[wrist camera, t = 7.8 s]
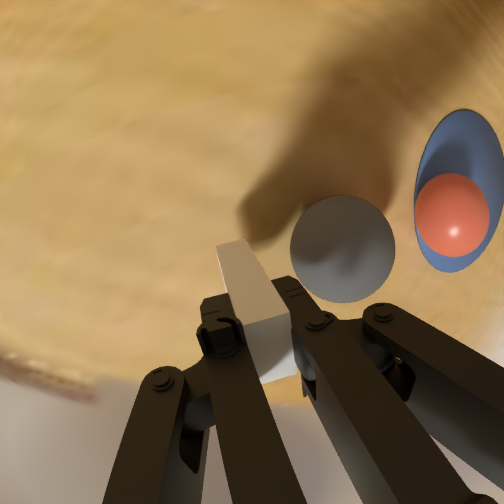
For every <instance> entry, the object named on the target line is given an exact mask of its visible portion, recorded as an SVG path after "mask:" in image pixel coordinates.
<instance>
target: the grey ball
mask: <svg viewBox="0 0 504 504" xmlns="http://www.w3.org/2000/svg"><path fill="white" fill-rule="evenodd" d="M290 255H291V261H292V265H293V268H294V270H295V273H296V275H297V277H298V278H299V280H300V281H301V283H302V284H303V285H304V286H305V287H306V288H307V289H308V290H309V291H310V292H312V293H313V294H314V295H316V296H317V297H319V298H321V299H324V300H327V301H330V302H335V303H350V302H355V301H359V300H362V299H364V298H366V297H368V296H370V295H371V294H373V293H374V292H375V291H377V290H378V289H379V288H380V287H381V286H382V285H383V283H384V282H385V281H386V279H387V277H388V276H389V274H390V272H391V269H392V266H393V263H394V259H395V240H394V236H393V232H392V229H391V227H390V225H389V223H388V221H387V220H386V218H385V217H384V215H383V214H382V213H381V212H380V211H379V210H378V209H377V208H376V207H375V206H373V205H372V204H370V203H369V202H367V201H365V200H363V199H360V198H357V197H353V196H345V195H340V196H332V197H328V198H325V199H323V200H320V201H319V202H317V203H315V204H313V205H312V206H311V207H309V208H308V209H307V210H306V211H305V212H304V213H303V215H302V216H301V217H300V218H299V220H298V222H297V223H296V226H295V228H294V230H293V233H292V237H291V244H290Z"/></svg>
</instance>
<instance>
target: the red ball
mask: <svg viewBox="0 0 504 504" xmlns="http://www.w3.org/2000/svg"><path fill="white" fill-rule="evenodd" d="M489 220H490V214H489V207H488V203H487V200H486V198H485V196H484V194H483V192H482V190H481V189H480V188H479V187H478V185H477V184H476V183H474V182H473V181H472V180H471V179H469V178H467V177H466V176H463V175H460V174H456V173H444V174H441V175H438V176H436V177H434V178H432V179H431V180H429V181H428V182H427V183H426V184H425V185H424V187H423V188H422V189H421V191H420V193H419V195H418V198H417V200H416V205H415V222H416V226H417V229H418V232H419V234H420V236H421V237H422V239H423V241H424V242H425V243H426V244H427V245H428V246H429V247H430V248H431V249H432V250H434V251H435V252H437V253H439V254H441V255H444V256H447V257H460V256H464V255H466V254H469V253H470V252H472V251H474V250H475V249H476V248H477V247H478V246H479V245H480V244H481V243H482V241H483V240H484V238H485V236H486V234H487V231H488V227H489Z"/></svg>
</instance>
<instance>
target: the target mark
mask: <svg viewBox="0 0 504 504" xmlns="http://www.w3.org/2000/svg"><path fill="white" fill-rule="evenodd" d="M444 173H456V174H460V175H463V176H466V177H467V178H469V179H471V180H472V181H473V182H474V183H476V184H477V185H478V187H479V188H480V189H481V190H482V192H483V194H484V196H485V198H486V200H487V203H488V207H489V214H490V220H489V227H488V231H487V234H486V236H485V238H484V240H483V241H482V243H481V244H480V245H479V246H478V247H477V248H476V249H475V250H474V251H472V252H470V253H469V254H466V255H464V256H460V257H447V256H444V255H441V254H439V253H437V252H435V251H434V250H432V249H431V248H430V247H429V246H428V245H427V244H426V243H425V242H424V241H423V239H422V237H421V236H420V234H419V232H418V229H417V226H416V222H415V229H416V234H417V239H418V243H419V245H420V248H421V251H422V253H423V255H424V257H425V258H426V259H427V261H428V262H429V263H430V264H431V265H432V266H433V267H434V268H436V269H438V270H440V271H443V272H450V273H452V272H457V271H460V270H462V269H464V268H466V267H467V266H469V265H470V264H472V263H473V262H474V261H475V260H476V259H477V258H478V257H479V256H480V255H481V253H482V252H483V251H484V250H485V248H486V247H487V245H488V244H489V242H490V240H491V238H492V237H493V234H494V232H495V230H496V228H497V225H498V222H499V219H500V216H501V213H502V208H503V204H504V157H503V152H502V149H501V145H500V143H499V140H498V138H497V135H496V134H495V132H494V130H493V128H492V127H491V126H490V124H489V123H488V122H487V121H486V120H485V119H484V118H483V117H482V116H480V115H479V114H477V113H475V112H472V111H467V110H463V111H457V112H453V113H452V114H450V115H448V116H447V117H446V118H444V119H443V120H442V121H441V122H440V123H439V125H438V126H437V127H436V128H435V130H434V132H433V133H432V135H431V136H430V138H429V141H428V143H427V145H426V147H425V150H424V153H423V155H422V158H421V162H420V166H419V169H418V175H417V180H416V187H415V196H414V221H415V205H416V200H417V198H418V195H419V193H420V191H421V189H422V188H423V187H424V185H425V184H426V183H427V182H428V181H429V180H431V179H432V178H434V177H436V176H438V175H441V174H444Z"/></svg>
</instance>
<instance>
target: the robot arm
mask: <svg viewBox="0 0 504 504" xmlns="http://www.w3.org/2000/svg"><path fill="white" fill-rule="evenodd" d="M215 249H216V253H217V257H218V261H219V265H220V269H221V273H222V277H223V281H224V285H225V289H226V293H225V294H221V295H217V296H213V297H209V298H205V299H204V300H203V302H202V304H201V306H200V311H201V319H202V324H201V325H200V326H199V327H198V329H197V333H196V336H197V338H198V341H199V344H200V346H201V349H202V352H203V354H204V356H203V357H202V358H201V360H200V361H199V362H198V363H196V364H195V365H193V366H192V367H190V368H188V369H186V370H184V371H182V372H181V370H180V369H178V368H176V367H172V366H164V367H159V368H157V369H155V370H152V371H151V372H150V373H149V374H147V375H146V376H145V378H144V379H143V381H142V383H141V386H140V389H139V391H138V394H137V397H136V400H135V403H134V405H133V408H132V411H131V414H130V417H129V420H128V423H127V426H126V428H125V431H124V434H123V437H122V441H121V444H120V446H119V450H118V453H117V456H116V459H115V462H114V465H113V468H112V472H111V475H110V479H109V482H108V485H107V489H106V492H105V496H104V499H103V503H102V504H201V498H202V489H203V481H204V472H205V464H206V456H207V448H208V440H209V432H210V427H212V426H214V425H215V424H216V429H217V434H218V439H219V444H220V449H221V454H222V459H223V464H224V468H225V473H226V477H227V481H228V486H229V490H230V494H231V498H232V502H233V504H307V502H306V499H305V497H304V495H303V492H302V490H301V487H300V485H299V482H298V480H297V477H296V475H295V472H294V470H293V467H292V465H291V462H290V460H289V457H288V454H287V452H286V449H285V447H284V444H283V441H282V439H281V436H280V433H279V431H278V428H277V426H276V423H275V420H274V418H273V415H272V412H271V409H270V407H269V404H268V401H267V398H266V396H265V393H264V390H263V387H262V385H261V384H264V383H268V382H271V381H275V380H278V379H281V378H284V377H288V376H291V375H294V374H297V367H298V368H299V370H300V372H301V380H302V390H303V397H306V396H307V394H308V396H309V398H310V400H311V402H312V404H313V406H314V408H315V410H316V412H317V414H318V416H319V418H320V420H321V422H322V424H323V426H324V428H325V430H326V432H327V434H328V436H329V438H330V440H331V442H332V444H333V446H334V448H335V450H336V452H337V454H338V456H339V458H340V460H341V462H342V464H343V466H344V468H345V470H346V471H347V473H348V475H349V477H350V479H351V481H352V483H353V485H354V487H355V489H356V491H357V493H358V495H359V497H360V499H361V500H362V502H363V504H498V503H497V502H496V501H495V500H494V499H493V498H491V497H489V496H487V495H484V494H476V493H474V492H472V491H471V490H470V489H469V488H468V487H467V486H466V484H465V483H464V482H463V480H462V479H461V477H460V476H459V475H458V473H457V472H456V471H455V469H454V468H453V467H452V465H451V464H450V462H449V461H448V460H447V458H446V457H445V456H444V454H443V453H442V452H441V450H440V449H439V447H438V446H437V445H436V444H435V442H434V441H433V439H432V438H431V437H430V435H431V436H432V437H433V438H435V439H436V440H437V441H438V442H440V443H441V444H442V445H444V446H445V447H446V448H447V449H449V450H450V451H451V452H453V453H454V454H455V455H456V456H458V457H459V458H461V459H462V460H463V461H464V462H466V463H467V464H468V465H470V466H471V467H472V468H474V469H475V470H476V471H478V472H479V473H480V474H482V475H483V476H484V477H486V478H487V479H489V480H490V481H491V482H493V483H494V484H496V485H497V486H498V487H500V488H501V489H502V490H504V368H503V367H501V366H500V365H498V364H496V363H495V362H493V361H491V360H490V359H488V358H486V357H485V356H483V355H481V354H480V353H478V352H476V351H474V350H473V349H471V348H469V347H468V346H466V345H464V344H462V343H461V342H459V341H457V340H456V339H454V338H452V337H450V336H449V335H447V334H445V333H443V332H442V331H440V330H438V329H436V328H435V327H433V326H431V325H429V324H428V323H426V322H424V321H422V320H421V319H419V318H417V317H415V316H414V315H412V314H410V313H408V312H406V311H405V310H403V309H401V308H399V307H398V306H395V305H393V304H390V303H375V304H373V305H370V306H368V307H367V308H366V309H365V310H364V312H363V316H362V318H359V319H351V320H339V319H338V318H337V317H336V316H335V315H333V314H332V313H330V312H327V311H322V310H321V309H320V308H319V306H318V305H317V304H316V303H315V301H314V300H313V299H312V297H311V296H310V295H309V294H308V293H307V291H306V290H305V289H304V288H303V286H302V285H301V283H300V282H299V281H298V280H297V279H295V278H293V277H291V276H285V277H281V278H278V279H274V280H270V279H269V277H268V276H267V274H266V272H265V271H264V269H263V267H262V266H261V264H260V262H259V261H258V259H257V258H256V256H255V254H254V253H253V251H252V249H251V248H250V246H249V244H248V243H247V241H246V240H245V239H241V240H237V241H233V242H229V243H225V244H221V245H217V246H215ZM396 357H397V358H396ZM398 358H399V359H400V360H399V359H398ZM401 360H402V361H401ZM296 365H297V367H296ZM306 392H307V394H306Z"/></svg>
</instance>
